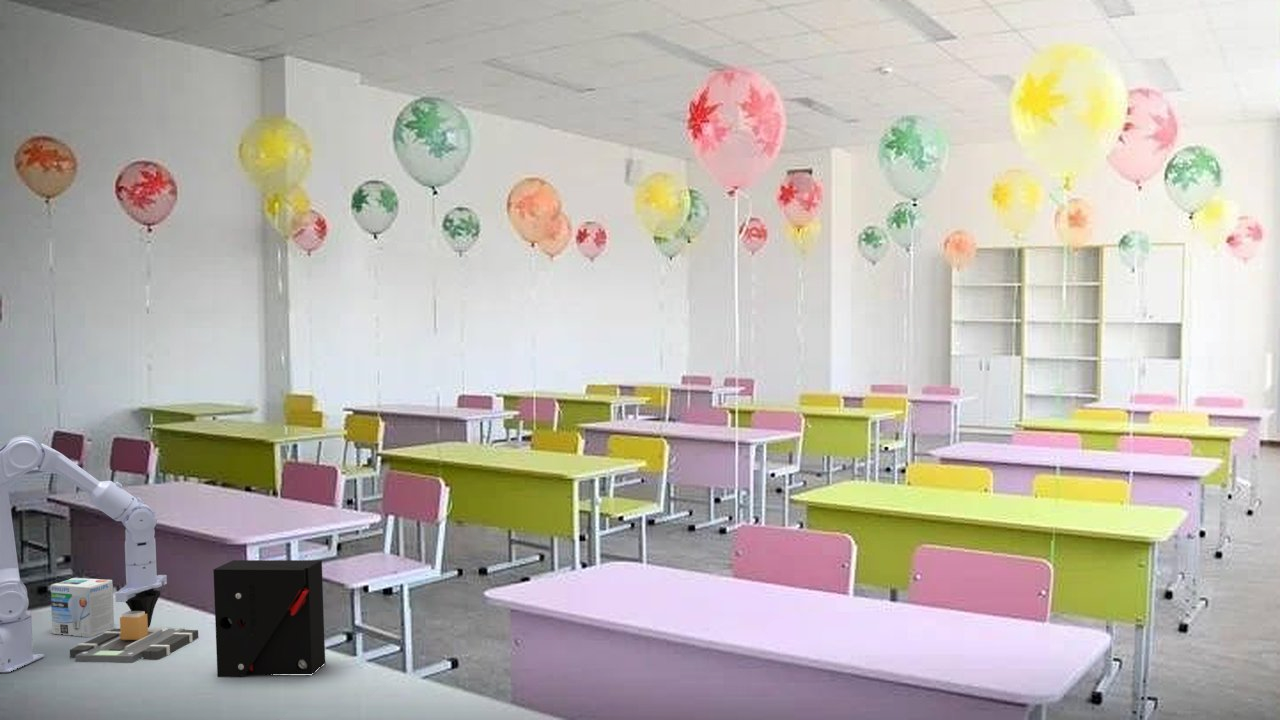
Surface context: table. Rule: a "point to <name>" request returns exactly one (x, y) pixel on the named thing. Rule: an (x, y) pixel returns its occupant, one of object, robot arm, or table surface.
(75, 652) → the cord bundle
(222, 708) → the table surface
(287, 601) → the electrical component
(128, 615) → the breaker knob
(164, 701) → the table surface
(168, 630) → the breaker panel
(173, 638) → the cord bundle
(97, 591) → the light bulb box
